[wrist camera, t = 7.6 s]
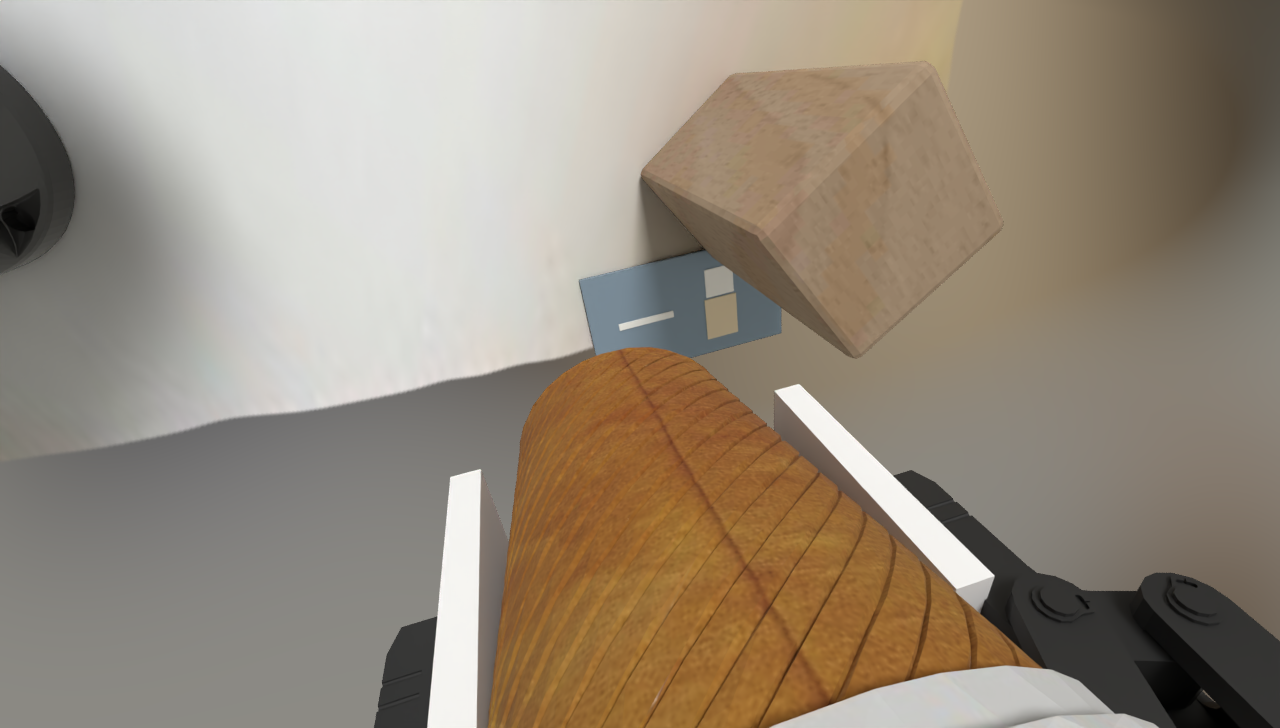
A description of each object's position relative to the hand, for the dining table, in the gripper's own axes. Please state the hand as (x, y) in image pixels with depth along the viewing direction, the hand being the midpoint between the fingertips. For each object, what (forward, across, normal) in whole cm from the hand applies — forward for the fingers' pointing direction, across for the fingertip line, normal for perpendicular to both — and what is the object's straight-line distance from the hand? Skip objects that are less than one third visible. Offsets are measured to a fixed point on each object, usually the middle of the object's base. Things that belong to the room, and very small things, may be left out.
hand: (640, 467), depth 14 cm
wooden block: (+30, +15, +1) cm, 33 cm away
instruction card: (+30, +11, -10) cm, 33 cm away
